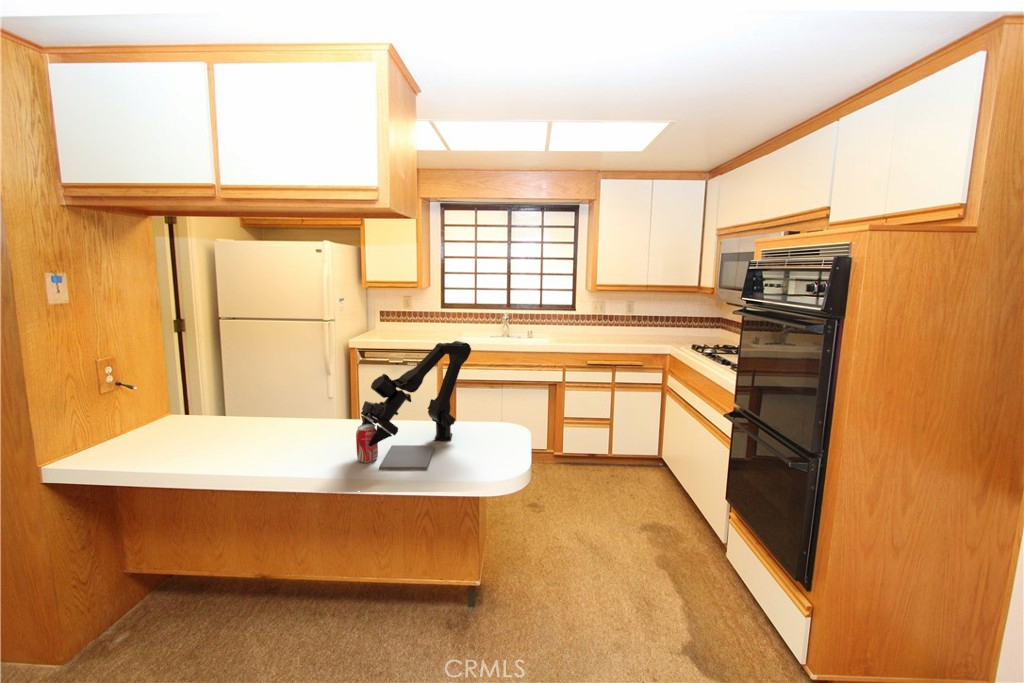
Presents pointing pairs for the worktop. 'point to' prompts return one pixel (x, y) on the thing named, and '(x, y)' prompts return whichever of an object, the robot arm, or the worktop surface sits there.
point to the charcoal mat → (407, 457)
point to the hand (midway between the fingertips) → (363, 441)
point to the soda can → (366, 443)
